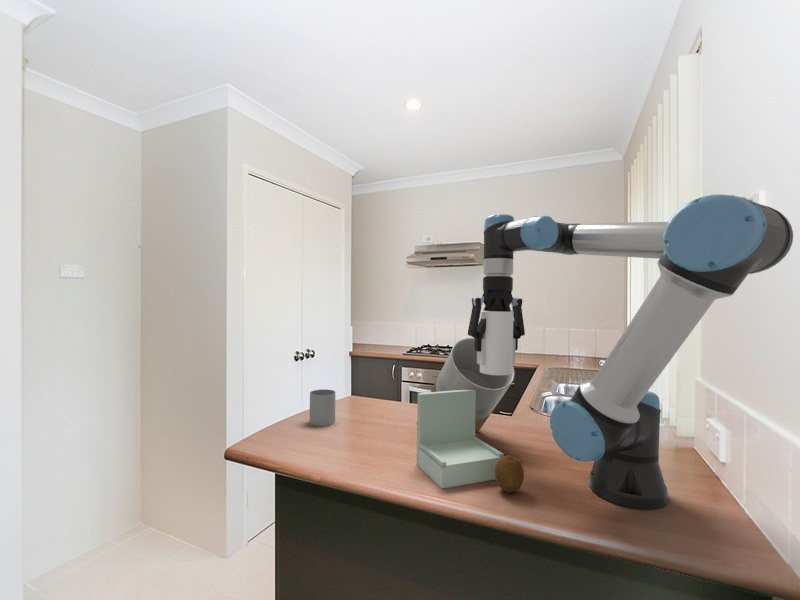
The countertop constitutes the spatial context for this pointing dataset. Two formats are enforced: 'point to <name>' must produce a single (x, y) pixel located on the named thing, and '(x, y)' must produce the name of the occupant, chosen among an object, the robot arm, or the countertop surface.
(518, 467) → the fruit
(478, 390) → the planter
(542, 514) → the countertop surface
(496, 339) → the cup
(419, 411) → the mint green bookend
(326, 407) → the cup
